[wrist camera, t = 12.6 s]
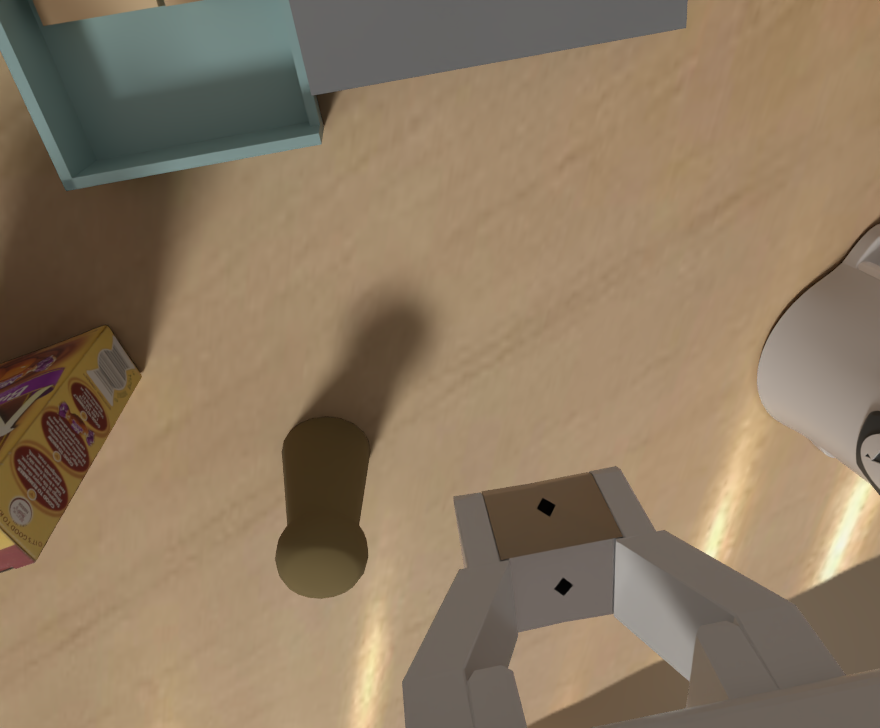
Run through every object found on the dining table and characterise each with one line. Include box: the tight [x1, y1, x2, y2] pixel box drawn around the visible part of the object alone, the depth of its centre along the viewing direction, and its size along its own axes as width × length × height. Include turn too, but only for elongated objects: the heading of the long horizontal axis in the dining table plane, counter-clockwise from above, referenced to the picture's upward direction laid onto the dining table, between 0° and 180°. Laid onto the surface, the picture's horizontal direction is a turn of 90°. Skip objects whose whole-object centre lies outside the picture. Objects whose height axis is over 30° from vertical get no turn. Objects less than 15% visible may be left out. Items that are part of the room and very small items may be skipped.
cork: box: [275, 417, 370, 599], centre depth 40 cm, size 6×6×11 cm
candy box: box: [0, 325, 142, 573], centre depth 32 cm, size 9×4×15 cm, turn 109°
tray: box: [0, 0, 324, 191], centre depth 28 cm, size 12×13×4 cm
